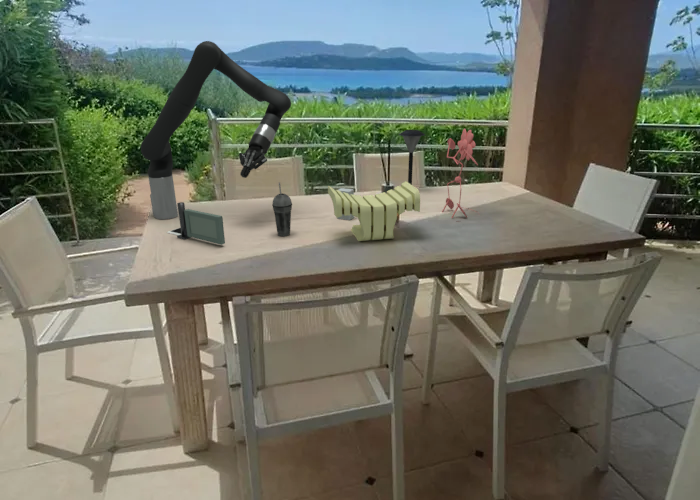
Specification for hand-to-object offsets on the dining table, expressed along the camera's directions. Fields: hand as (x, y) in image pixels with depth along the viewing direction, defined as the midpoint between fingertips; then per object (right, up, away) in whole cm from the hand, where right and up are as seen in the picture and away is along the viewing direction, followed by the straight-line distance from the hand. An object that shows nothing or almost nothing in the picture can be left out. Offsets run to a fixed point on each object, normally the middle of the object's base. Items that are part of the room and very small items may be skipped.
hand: (243, 176), depth 183 cm
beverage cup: (+15, -22, 0) cm, 27 cm away
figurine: (+87, -12, +23) cm, 91 cm away
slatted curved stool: (+48, -22, -2) cm, 53 cm away
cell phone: (-22, -20, +7) cm, 31 cm away
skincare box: (+38, -15, +19) cm, 45 cm away
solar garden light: (+69, 0, +55) cm, 88 cm away
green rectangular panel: (-11, -24, -8) cm, 28 cm away
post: (-21, -23, -2) cm, 31 cm away
